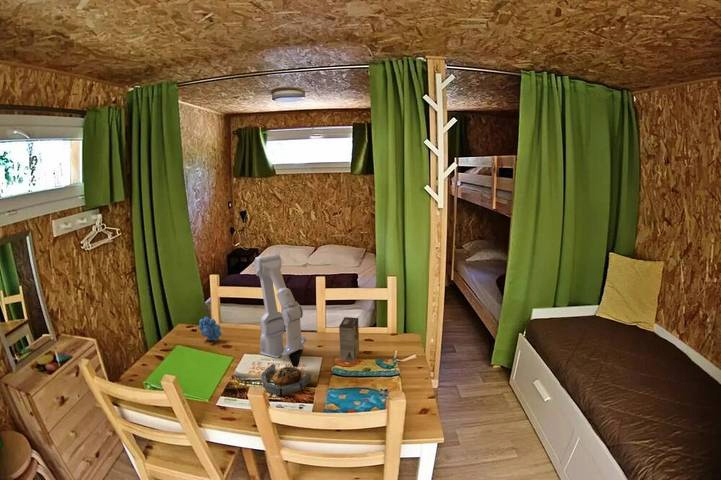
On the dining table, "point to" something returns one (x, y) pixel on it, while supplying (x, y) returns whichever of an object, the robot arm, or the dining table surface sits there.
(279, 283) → the robot arm
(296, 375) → the bread roll
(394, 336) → the dining table surface
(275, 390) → the collar
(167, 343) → the dining table surface
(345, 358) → the coffee box
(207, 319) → the grapes
